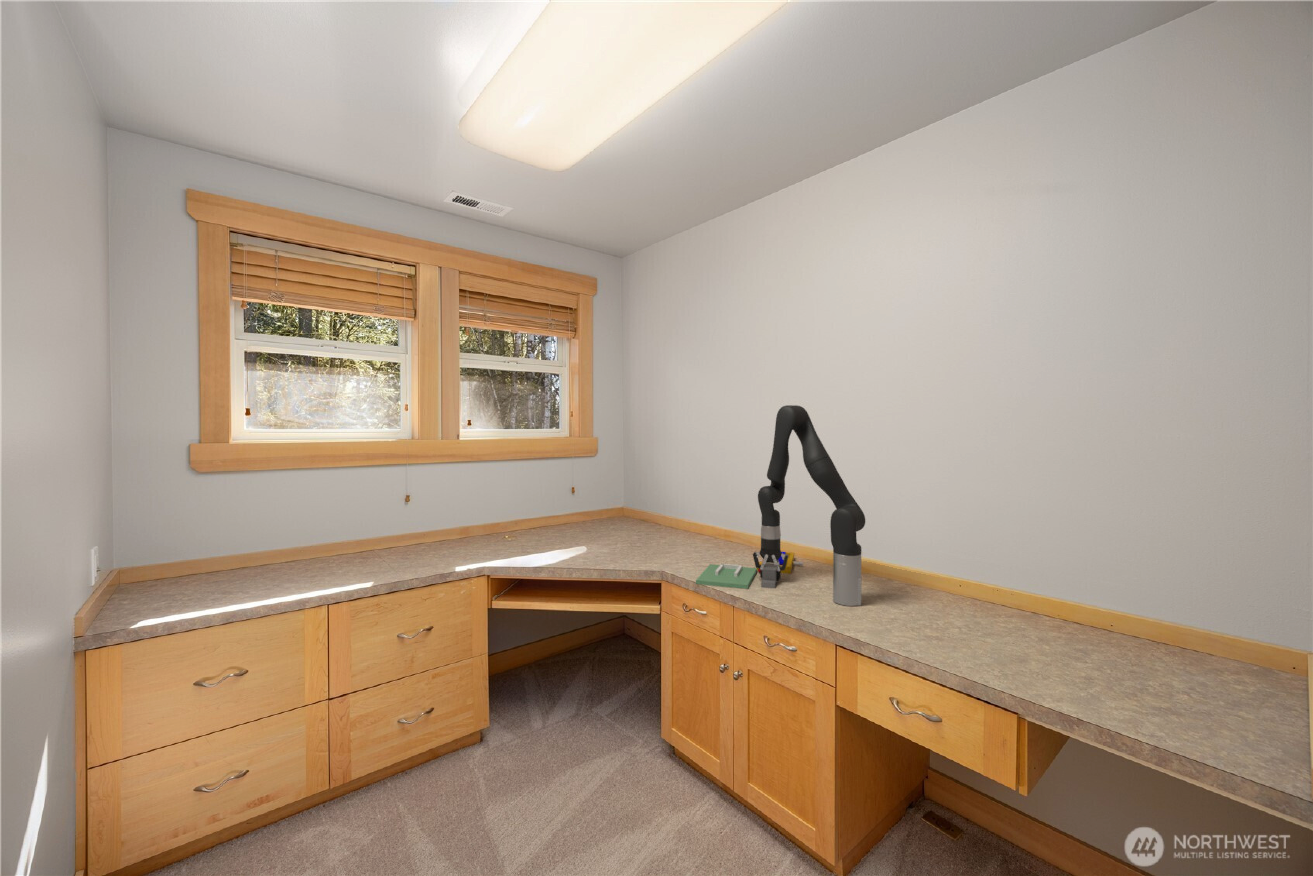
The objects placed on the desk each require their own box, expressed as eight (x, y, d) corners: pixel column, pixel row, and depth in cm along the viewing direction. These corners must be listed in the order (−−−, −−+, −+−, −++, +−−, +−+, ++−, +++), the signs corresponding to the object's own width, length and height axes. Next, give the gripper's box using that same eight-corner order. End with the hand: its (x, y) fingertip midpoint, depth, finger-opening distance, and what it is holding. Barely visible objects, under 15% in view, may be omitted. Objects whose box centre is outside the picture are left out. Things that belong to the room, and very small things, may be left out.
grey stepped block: (765, 577, 213) (765, 562, 213) (778, 578, 212) (778, 563, 212) (761, 587, 201) (761, 571, 201) (774, 588, 199) (774, 572, 199)
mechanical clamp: (755, 559, 219) (763, 543, 247) (755, 574, 219) (763, 557, 247) (801, 563, 213) (804, 546, 241) (801, 578, 213) (804, 560, 242)
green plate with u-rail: (756, 571, 221) (757, 564, 221) (747, 589, 199) (747, 581, 199) (710, 567, 228) (710, 560, 228) (695, 583, 205) (695, 576, 205)
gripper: (750, 537, 206) (750, 580, 207) (788, 539, 201) (788, 584, 202) (753, 533, 213) (753, 575, 214) (790, 535, 208) (790, 578, 209)
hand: (770, 579), depth 208 cm, fingers closed on grey stepped block, 5 cm apart
